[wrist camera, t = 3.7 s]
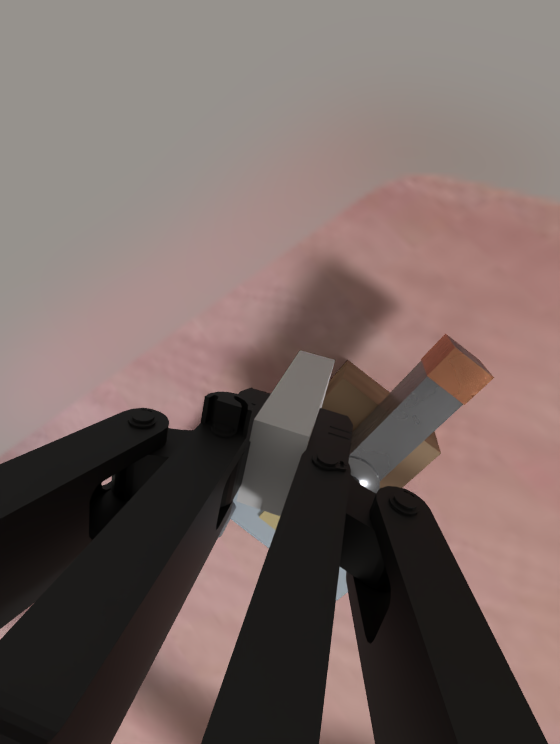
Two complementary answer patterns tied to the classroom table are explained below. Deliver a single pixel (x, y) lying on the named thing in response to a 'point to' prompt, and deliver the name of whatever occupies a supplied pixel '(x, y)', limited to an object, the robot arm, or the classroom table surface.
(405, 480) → the block
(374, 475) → the latch bar
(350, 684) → the classroom table surface
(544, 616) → the classroom table surface
